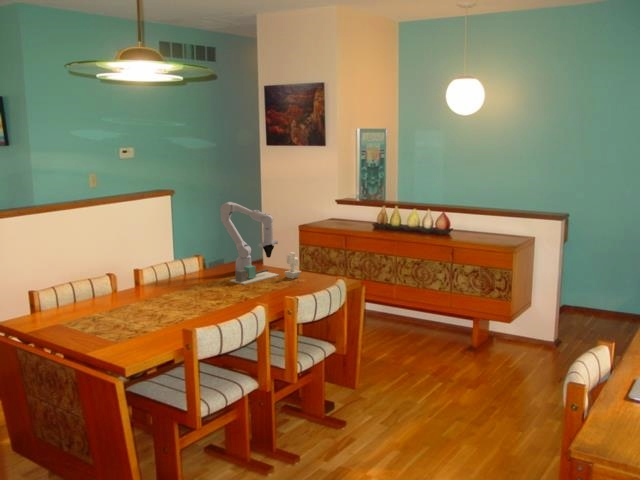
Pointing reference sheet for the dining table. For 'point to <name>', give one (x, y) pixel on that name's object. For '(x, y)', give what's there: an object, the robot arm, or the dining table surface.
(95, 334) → the dining table surface
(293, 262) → the figurine
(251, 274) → the sleeve
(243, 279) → the rod stand
